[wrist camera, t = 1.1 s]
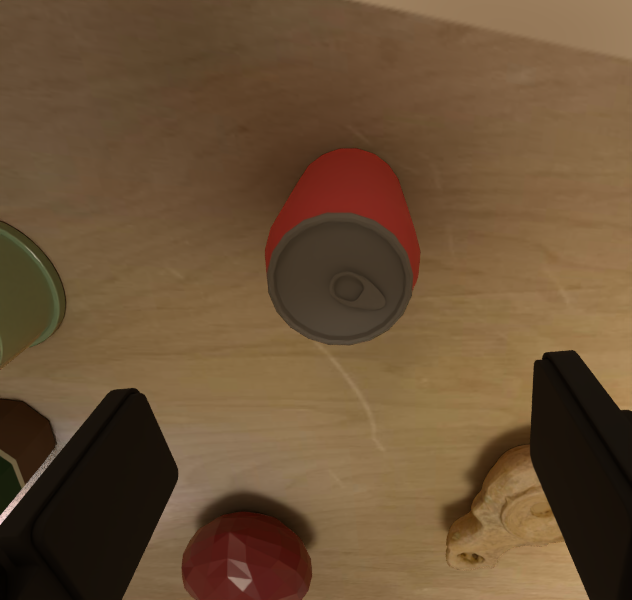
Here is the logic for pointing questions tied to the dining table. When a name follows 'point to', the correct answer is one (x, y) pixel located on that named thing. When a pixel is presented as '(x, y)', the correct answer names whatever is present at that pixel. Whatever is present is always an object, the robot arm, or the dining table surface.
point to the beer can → (343, 250)
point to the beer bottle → (21, 447)
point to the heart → (246, 560)
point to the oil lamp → (503, 515)
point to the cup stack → (26, 295)
